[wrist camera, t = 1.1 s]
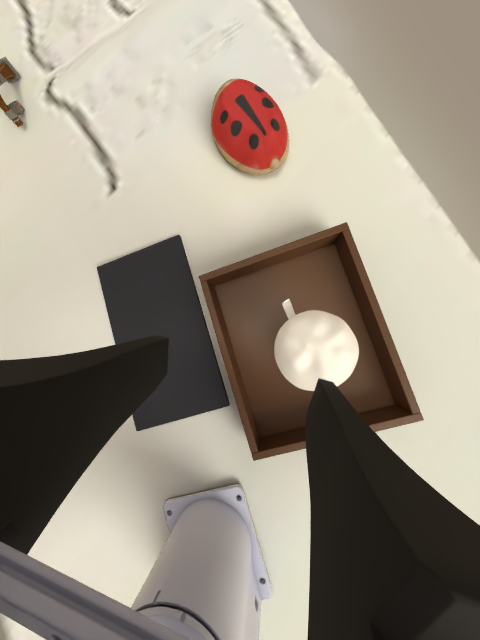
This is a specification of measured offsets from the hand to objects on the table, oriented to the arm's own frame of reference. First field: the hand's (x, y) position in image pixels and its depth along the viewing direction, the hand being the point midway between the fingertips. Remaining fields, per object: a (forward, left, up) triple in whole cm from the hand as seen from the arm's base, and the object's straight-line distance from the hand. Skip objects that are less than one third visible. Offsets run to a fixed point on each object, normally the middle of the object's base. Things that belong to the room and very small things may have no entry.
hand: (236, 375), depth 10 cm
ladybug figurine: (+21, -6, -12) cm, 25 cm away
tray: (0, -4, -11) cm, 12 cm away
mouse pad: (+5, +9, -11) cm, 15 cm away
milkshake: (0, -4, -11) cm, 12 cm away
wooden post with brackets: (+39, +19, -12) cm, 45 cm away
